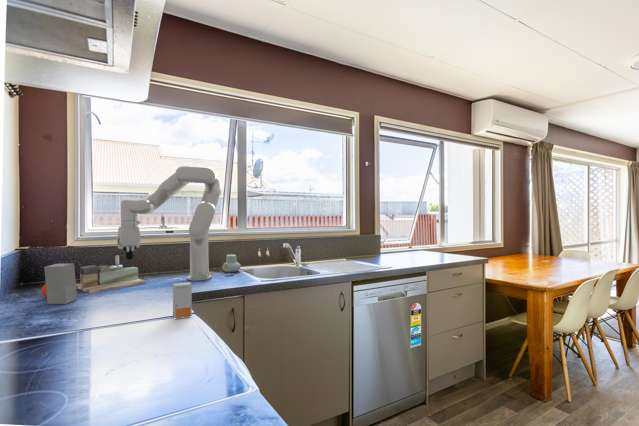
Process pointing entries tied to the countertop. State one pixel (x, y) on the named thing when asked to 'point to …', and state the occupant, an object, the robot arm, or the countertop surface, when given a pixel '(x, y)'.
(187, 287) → the skincare box
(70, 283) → the skincare box
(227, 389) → the countertop surface
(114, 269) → the bolt
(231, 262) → the air freshener
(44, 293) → the clementine
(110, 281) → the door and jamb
